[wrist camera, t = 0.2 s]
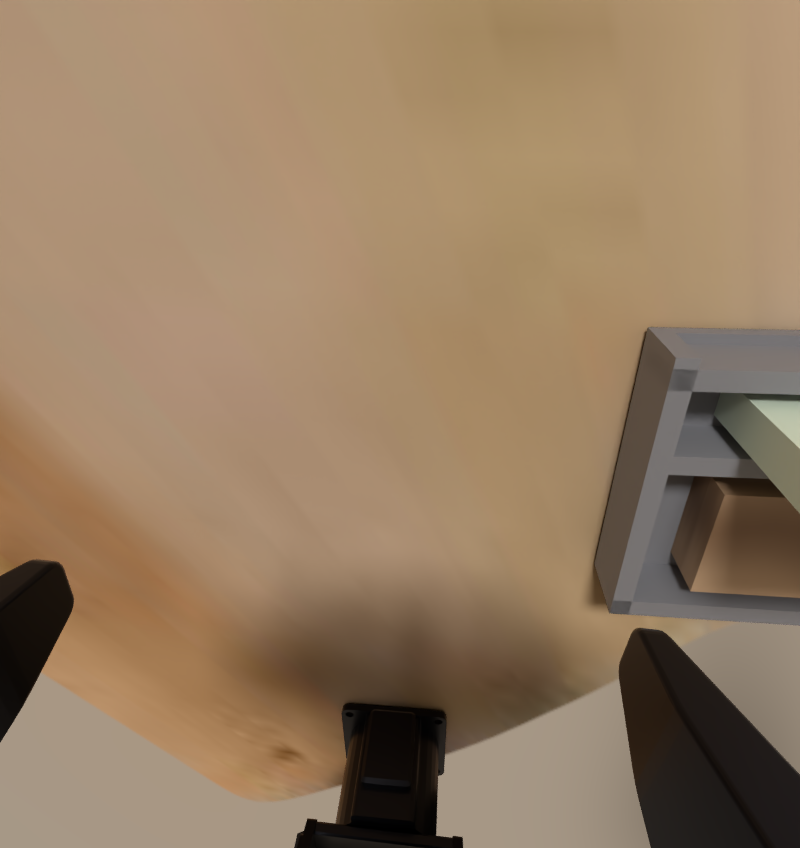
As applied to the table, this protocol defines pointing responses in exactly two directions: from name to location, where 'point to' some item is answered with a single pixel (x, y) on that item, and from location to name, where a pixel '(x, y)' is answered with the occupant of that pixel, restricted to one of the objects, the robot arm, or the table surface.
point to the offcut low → (689, 517)
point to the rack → (686, 466)
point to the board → (767, 435)
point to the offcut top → (744, 541)
